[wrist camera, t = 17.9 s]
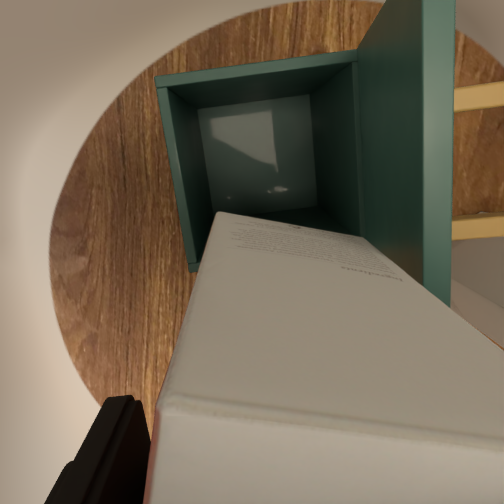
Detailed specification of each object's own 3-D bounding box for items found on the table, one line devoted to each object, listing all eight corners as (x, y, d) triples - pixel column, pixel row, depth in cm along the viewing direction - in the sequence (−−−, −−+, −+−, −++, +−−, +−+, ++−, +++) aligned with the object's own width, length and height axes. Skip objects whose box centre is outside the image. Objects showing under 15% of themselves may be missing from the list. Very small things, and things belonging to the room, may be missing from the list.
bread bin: (209, 224, 38) (189, 273, 24) (190, 103, 35) (153, 76, 21) (323, 210, 37) (371, 250, 23) (314, 87, 34) (362, 48, 20)
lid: (422, 358, 12) (602, 351, 11) (421, -60, 9) (665, -109, 8) (366, 252, 23) (455, 245, 22) (357, 47, 20) (459, 30, 19)
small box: (216, 207, 14) (148, 385, 4) (365, 234, 14) (671, 461, 4) (184, 396, 16) (86, 838, 6) (315, 415, 16) (436, 857, 6)
